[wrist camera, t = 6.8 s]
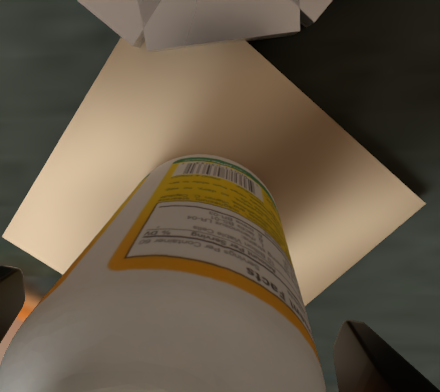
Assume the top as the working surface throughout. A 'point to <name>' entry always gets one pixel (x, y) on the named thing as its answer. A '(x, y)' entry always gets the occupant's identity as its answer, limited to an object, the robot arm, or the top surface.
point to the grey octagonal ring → (203, 20)
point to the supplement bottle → (175, 296)
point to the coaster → (212, 145)
